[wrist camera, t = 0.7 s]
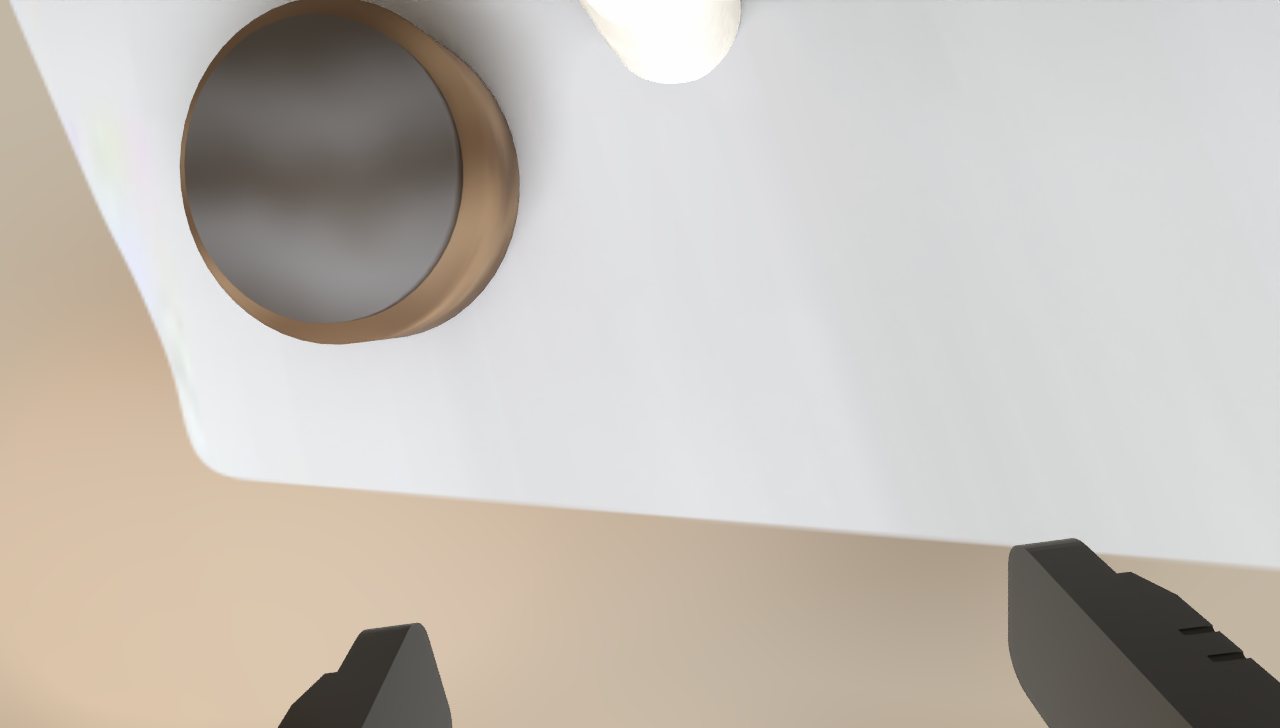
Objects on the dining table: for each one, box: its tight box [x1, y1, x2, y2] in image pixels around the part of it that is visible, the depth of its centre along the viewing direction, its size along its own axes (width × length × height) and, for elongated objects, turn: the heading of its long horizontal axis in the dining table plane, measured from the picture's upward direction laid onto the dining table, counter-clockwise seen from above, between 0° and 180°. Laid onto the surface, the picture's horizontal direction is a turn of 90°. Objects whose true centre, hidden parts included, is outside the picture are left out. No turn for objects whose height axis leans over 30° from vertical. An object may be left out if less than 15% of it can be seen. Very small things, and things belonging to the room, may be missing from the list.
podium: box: [180, 0, 519, 344], centre depth 33 cm, size 15×15×5 cm
